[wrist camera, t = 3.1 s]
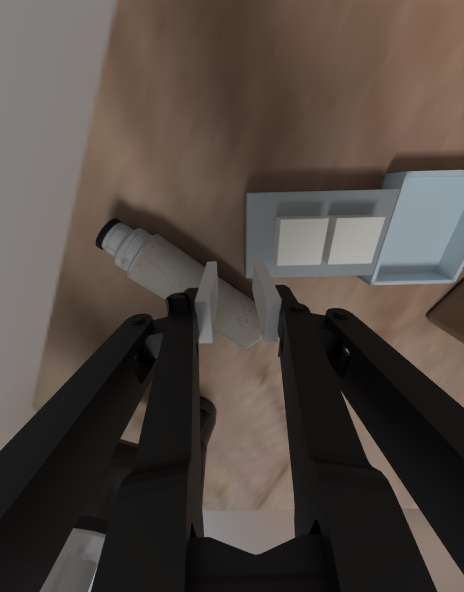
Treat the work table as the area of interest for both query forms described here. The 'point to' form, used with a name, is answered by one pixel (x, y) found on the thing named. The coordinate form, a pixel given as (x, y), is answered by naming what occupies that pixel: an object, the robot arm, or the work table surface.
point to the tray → (423, 230)
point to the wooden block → (450, 313)
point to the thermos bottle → (177, 277)
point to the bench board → (309, 203)
